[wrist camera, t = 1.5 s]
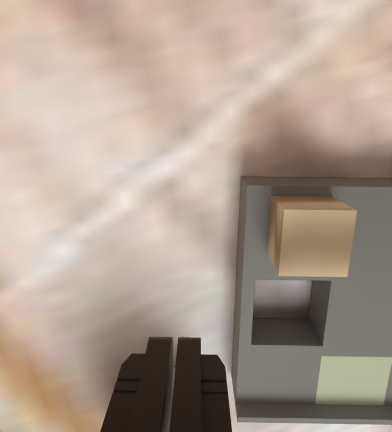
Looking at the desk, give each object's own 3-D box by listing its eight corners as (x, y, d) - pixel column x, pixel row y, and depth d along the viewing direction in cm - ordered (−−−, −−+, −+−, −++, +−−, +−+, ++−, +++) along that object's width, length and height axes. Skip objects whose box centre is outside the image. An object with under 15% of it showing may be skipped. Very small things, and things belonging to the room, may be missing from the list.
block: (270, 195, 25) (284, 209, 21) (332, 196, 25) (357, 210, 21) (266, 252, 26) (278, 276, 22) (325, 253, 26) (347, 277, 22)
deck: (240, 176, 28) (250, 189, 23) (479, 179, 28) (544, 192, 23) (231, 374, 34) (237, 422, 28) (431, 377, 34) (475, 425, 28)
